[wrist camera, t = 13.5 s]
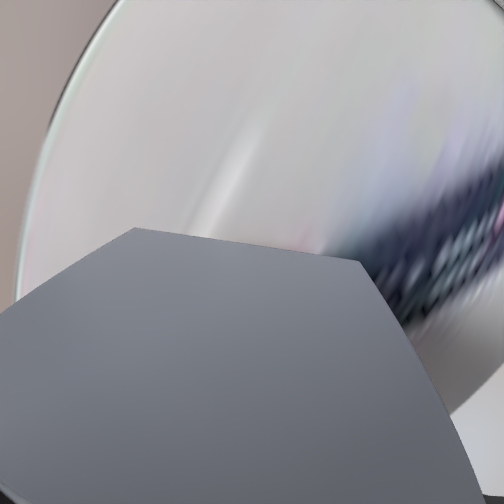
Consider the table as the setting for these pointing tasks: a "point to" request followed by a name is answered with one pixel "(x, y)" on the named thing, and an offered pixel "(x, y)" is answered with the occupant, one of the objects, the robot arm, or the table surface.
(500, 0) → the skincare box
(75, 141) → the table surface
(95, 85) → the table surface
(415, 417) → the grey cube
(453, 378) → the table surface
